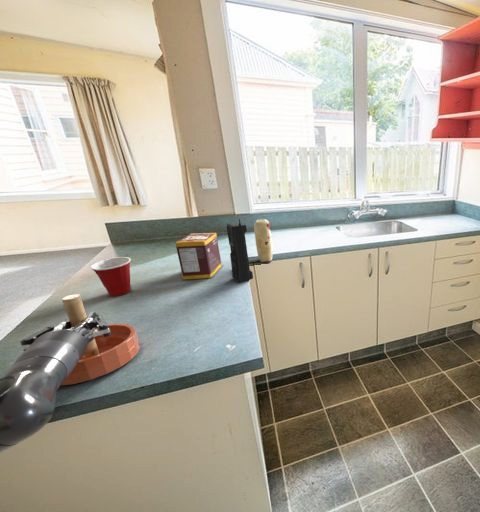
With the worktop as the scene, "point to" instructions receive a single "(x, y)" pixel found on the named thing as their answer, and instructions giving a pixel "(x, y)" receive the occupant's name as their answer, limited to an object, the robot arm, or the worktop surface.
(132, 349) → the bowl
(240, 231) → the portable radio
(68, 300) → the stirring stick
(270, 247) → the food model
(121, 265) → the plastic cup
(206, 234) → the supplement box
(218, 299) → the worktop surface
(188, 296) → the worktop surface
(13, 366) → the robot arm
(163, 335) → the worktop surface
